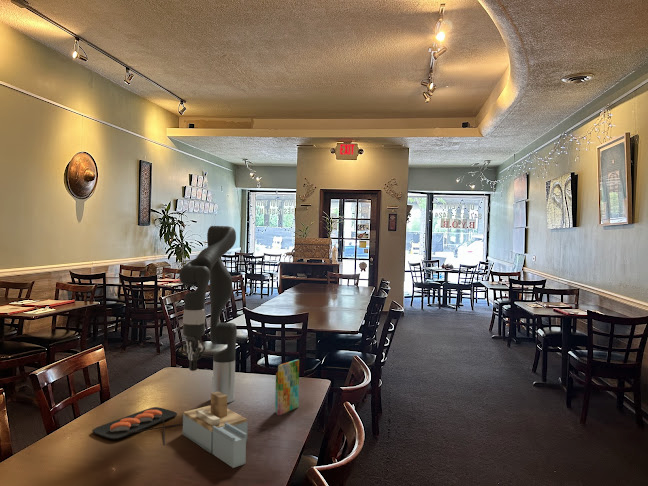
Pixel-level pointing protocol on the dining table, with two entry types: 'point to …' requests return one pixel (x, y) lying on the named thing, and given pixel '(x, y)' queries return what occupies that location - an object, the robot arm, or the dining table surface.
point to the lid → (217, 412)
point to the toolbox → (220, 440)
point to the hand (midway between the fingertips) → (193, 370)
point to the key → (208, 417)
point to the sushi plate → (136, 423)
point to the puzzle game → (287, 387)
